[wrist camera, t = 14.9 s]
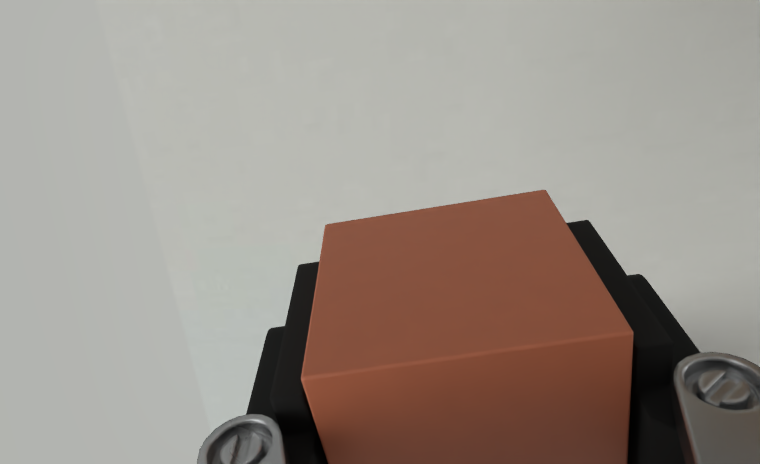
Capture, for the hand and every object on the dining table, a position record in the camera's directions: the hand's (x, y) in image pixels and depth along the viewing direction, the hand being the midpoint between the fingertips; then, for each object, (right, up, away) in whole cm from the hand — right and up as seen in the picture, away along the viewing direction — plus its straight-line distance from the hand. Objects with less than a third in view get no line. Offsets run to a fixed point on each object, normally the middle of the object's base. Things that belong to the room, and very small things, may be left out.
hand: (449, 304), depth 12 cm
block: (0, 0, 0) cm, 0 cm away
